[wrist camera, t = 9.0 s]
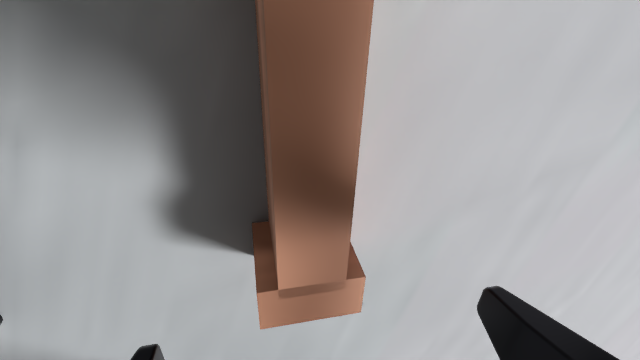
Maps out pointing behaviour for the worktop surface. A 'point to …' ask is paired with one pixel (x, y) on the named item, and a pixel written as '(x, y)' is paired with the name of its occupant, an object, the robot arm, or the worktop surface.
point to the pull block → (310, 156)
